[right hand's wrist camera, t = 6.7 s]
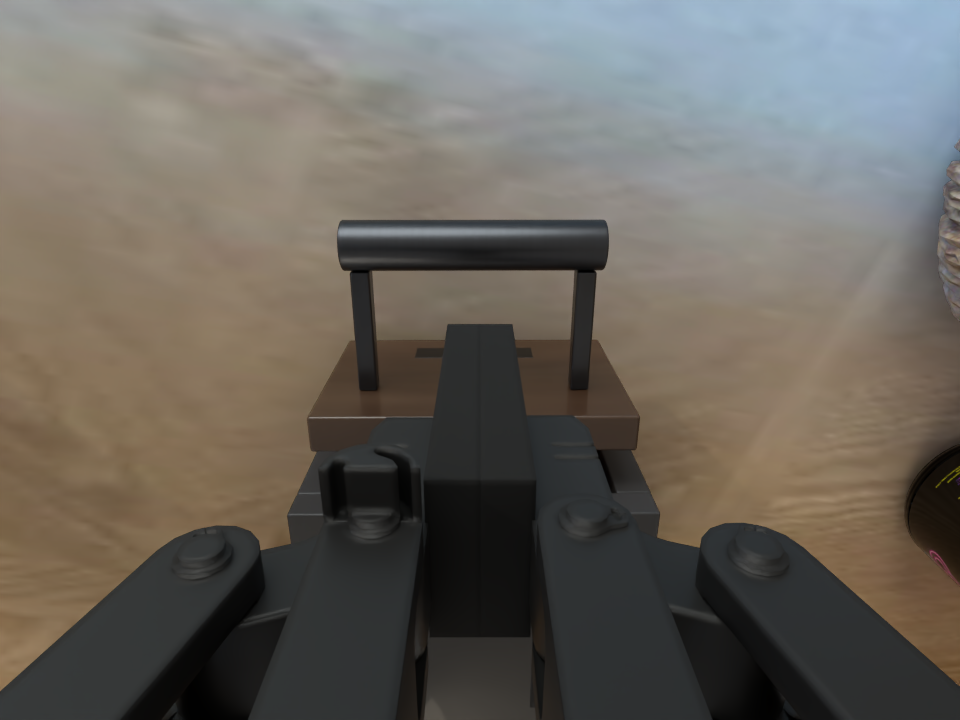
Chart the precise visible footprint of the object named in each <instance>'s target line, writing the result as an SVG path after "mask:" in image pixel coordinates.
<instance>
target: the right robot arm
mask: <svg viewBox="0 0 960 720" xmlns="http://www.w3.org/2000/svg"><path fill="white" fill-rule="evenodd" d="M318 475H319V484H320V493H321V501H322V510H323V519H324V522H323V525H322V528H321V530H320V533H319V534H318V535H315V536H313V537H311V538H309V539H307V540H303V541H300V542H296V543H293V544H289V545H284V546H280V547H275V548H270V549H266V550H261V551H260V545H259V540H258V539H257V538H256V537H255V536H254V535H253V534H252V533H251V531H248V530H245V529H242V528H240V527H237V526H212V527H207V528H201V529H197V530H194V531H191V532H189V533H187V534H184V535H182V536H179V537H177V538H175V539H173V540H172V541H170V542H169V543H167V544H166V545H164V546H163V547H162V548H160V549H159V550H157V551H156V552H155V553H154V554H153V555H152V556H151V557H149V558H148V559H147V560H146V561H145V562H144V563H143V564H142V565H141V566H139V567H138V568H137V569H136V570H135V571H134V572H133V573H132V574H131V575H129V576H128V577H127V578H126V579H125V580H124V581H123V582H122V583H120V584H119V585H118V586H117V587H116V588H115V589H114V590H113V591H112V592H110V593H109V594H108V595H107V596H106V597H105V598H104V599H103V600H102V601H100V602H99V603H98V604H97V605H96V606H95V607H94V608H93V609H92V610H90V611H89V612H88V613H87V614H86V615H85V616H84V617H83V618H81V619H80V620H79V621H78V622H77V623H76V624H75V625H74V626H73V627H71V628H70V629H69V630H68V631H67V632H66V633H65V634H64V635H63V636H61V637H60V638H59V639H58V640H57V641H56V642H55V643H54V644H52V645H51V646H50V647H49V648H48V649H47V650H46V651H45V652H44V653H42V654H41V655H40V656H39V657H38V658H37V659H36V660H35V661H34V662H32V663H31V664H30V665H29V666H28V667H27V668H26V669H25V670H24V671H22V672H21V673H20V674H19V675H18V676H17V677H16V678H15V679H13V680H12V681H11V682H10V683H9V684H8V685H7V686H6V687H5V688H3V689H2V690H1V691H0V720H424V715H425V704H426V693H427V681H428V670H429V664H428V632H429V634H430V637H530V634H531V629H532V639H533V640H532V664H531V688H530V708H535V714H536V720H960V687H959V686H958V685H957V684H956V683H955V682H954V681H953V680H952V679H950V678H949V677H948V676H947V675H946V674H945V673H944V672H943V671H941V670H940V669H939V668H938V667H937V666H936V665H935V664H934V663H932V662H931V661H930V660H929V659H928V658H927V657H926V656H925V655H923V654H922V653H921V652H920V651H919V650H918V649H917V648H916V647H915V646H913V645H912V644H911V643H910V642H909V641H908V640H907V639H906V638H904V637H903V636H902V635H901V634H900V633H899V632H898V631H897V630H895V629H894V628H893V627H892V626H891V625H890V624H889V623H888V622H886V621H885V620H884V619H883V618H882V617H881V616H880V615H879V614H877V613H876V612H875V611H874V610H873V609H872V608H871V607H870V606H868V605H867V604H866V603H865V602H864V601H863V600H862V599H861V598H859V597H858V596H857V595H856V594H855V593H854V592H853V591H852V590H850V589H849V588H848V587H847V586H846V585H845V584H844V583H843V582H841V581H840V580H839V579H838V578H837V577H836V576H835V575H834V574H833V573H831V572H830V571H829V570H828V569H827V568H826V567H825V566H824V565H822V564H821V563H820V562H819V561H818V560H817V559H816V558H815V557H813V556H812V555H811V554H810V553H809V552H808V551H807V550H806V549H804V548H803V547H802V546H800V545H799V544H797V543H796V542H795V541H793V540H792V539H790V538H789V537H787V536H786V535H783V534H781V533H778V532H776V531H774V530H771V529H769V528H766V527H762V526H758V525H753V524H747V523H725V524H722V525H719V526H716V527H713V528H710V529H709V530H708V531H707V532H706V534H705V535H704V536H703V537H702V539H701V545H700V548H698V547H693V546H688V545H683V544H679V543H674V542H669V541H666V540H662V539H659V538H655V537H653V536H651V535H648V534H646V533H644V532H642V531H640V529H639V527H638V524H637V522H636V520H635V518H634V517H633V516H632V514H631V513H630V511H629V510H628V509H626V508H625V507H623V506H622V505H620V504H619V503H617V502H616V501H614V499H613V496H612V493H611V490H610V488H609V485H608V482H607V479H606V476H605V473H604V471H603V468H602V465H601V462H600V459H598V453H597V451H596V448H595V446H594V442H593V439H592V436H591V433H590V431H589V428H588V427H587V426H585V425H584V424H583V423H582V422H581V421H579V420H578V419H577V418H576V417H575V416H573V415H526V409H525V403H524V396H523V390H522V383H521V377H520V371H519V364H518V358H517V352H516V345H515V339H514V332H513V326H512V324H448V326H447V332H446V339H445V345H444V352H443V358H442V364H441V371H440V377H439V383H438V390H437V396H436V403H435V409H434V415H433V417H387V418H385V419H384V420H383V421H382V422H381V423H380V424H378V425H377V426H376V427H375V428H374V429H372V430H371V433H370V436H369V439H368V442H367V444H361V445H356V446H352V447H349V448H345V449H342V450H340V451H338V452H336V453H334V454H333V455H331V456H329V457H327V458H326V459H325V460H324V461H323V463H322V464H321V465H320V466H319V467H318Z"/></svg>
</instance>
